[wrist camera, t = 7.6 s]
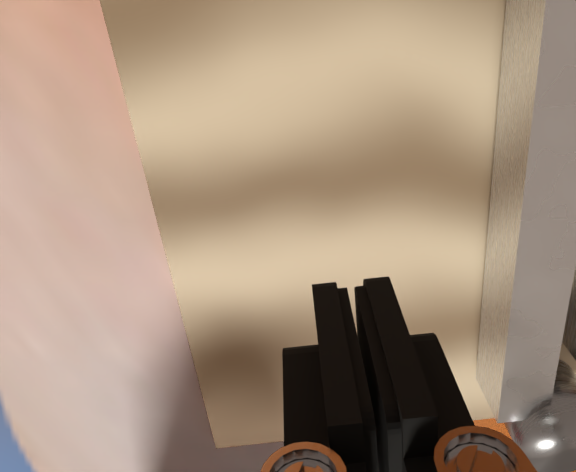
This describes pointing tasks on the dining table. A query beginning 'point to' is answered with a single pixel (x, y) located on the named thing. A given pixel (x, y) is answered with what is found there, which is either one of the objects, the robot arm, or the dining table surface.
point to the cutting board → (313, 174)
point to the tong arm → (532, 235)
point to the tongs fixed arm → (571, 322)
